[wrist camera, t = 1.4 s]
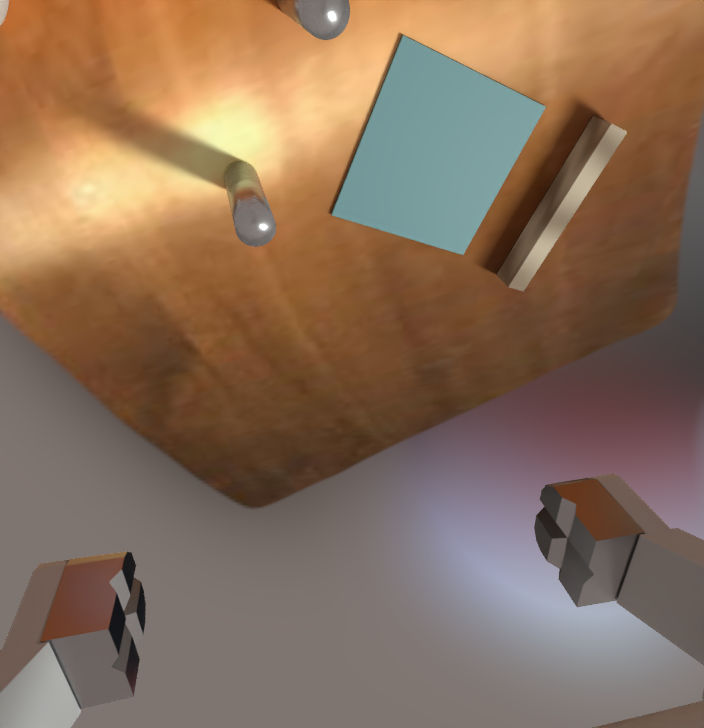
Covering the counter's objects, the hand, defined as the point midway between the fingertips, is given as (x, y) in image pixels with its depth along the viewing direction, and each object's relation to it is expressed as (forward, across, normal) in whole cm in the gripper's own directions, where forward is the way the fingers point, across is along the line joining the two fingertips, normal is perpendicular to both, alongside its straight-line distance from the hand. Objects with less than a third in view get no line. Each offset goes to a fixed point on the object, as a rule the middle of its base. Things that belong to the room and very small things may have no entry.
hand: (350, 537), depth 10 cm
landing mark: (+38, -15, -1) cm, 40 cm away
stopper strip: (+39, -27, +3) cm, 48 cm away
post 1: (+36, +1, -1) cm, 36 cm away
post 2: (+34, -3, -12) cm, 37 cm away
